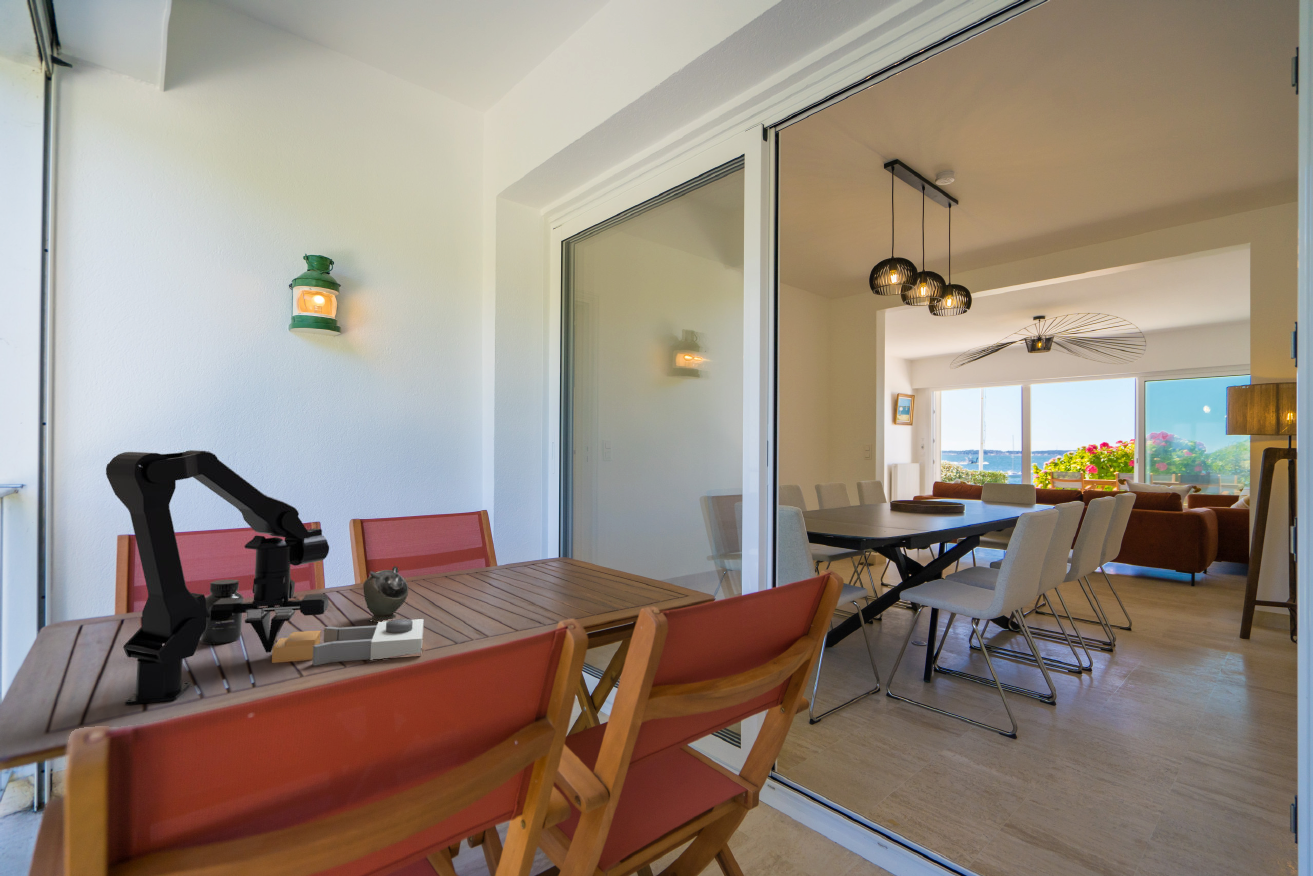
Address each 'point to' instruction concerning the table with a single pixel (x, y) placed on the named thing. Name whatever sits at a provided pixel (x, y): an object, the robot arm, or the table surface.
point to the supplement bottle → (222, 628)
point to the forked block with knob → (369, 641)
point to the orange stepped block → (296, 647)
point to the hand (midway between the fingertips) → (269, 651)
